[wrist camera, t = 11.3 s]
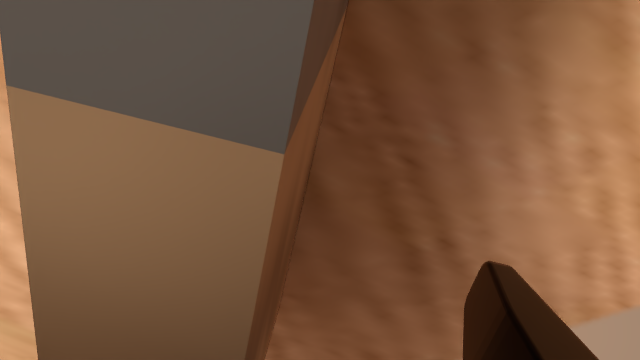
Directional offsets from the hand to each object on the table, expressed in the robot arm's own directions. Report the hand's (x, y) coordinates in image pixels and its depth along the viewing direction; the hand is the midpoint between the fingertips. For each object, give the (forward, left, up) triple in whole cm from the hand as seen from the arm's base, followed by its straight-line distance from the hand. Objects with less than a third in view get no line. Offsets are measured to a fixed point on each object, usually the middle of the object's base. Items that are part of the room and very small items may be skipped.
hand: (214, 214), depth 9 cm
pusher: (+3, 0, -3) cm, 4 cm away
